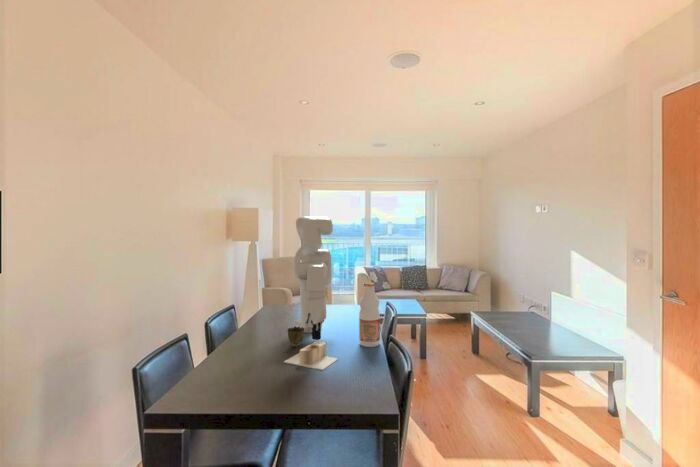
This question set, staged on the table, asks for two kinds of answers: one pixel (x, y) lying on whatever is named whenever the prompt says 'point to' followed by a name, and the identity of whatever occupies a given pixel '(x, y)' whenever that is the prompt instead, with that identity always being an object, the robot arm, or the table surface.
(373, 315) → the fruit juice
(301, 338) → the cup
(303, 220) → the robot arm
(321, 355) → the maple block
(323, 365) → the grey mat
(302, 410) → the table surface
